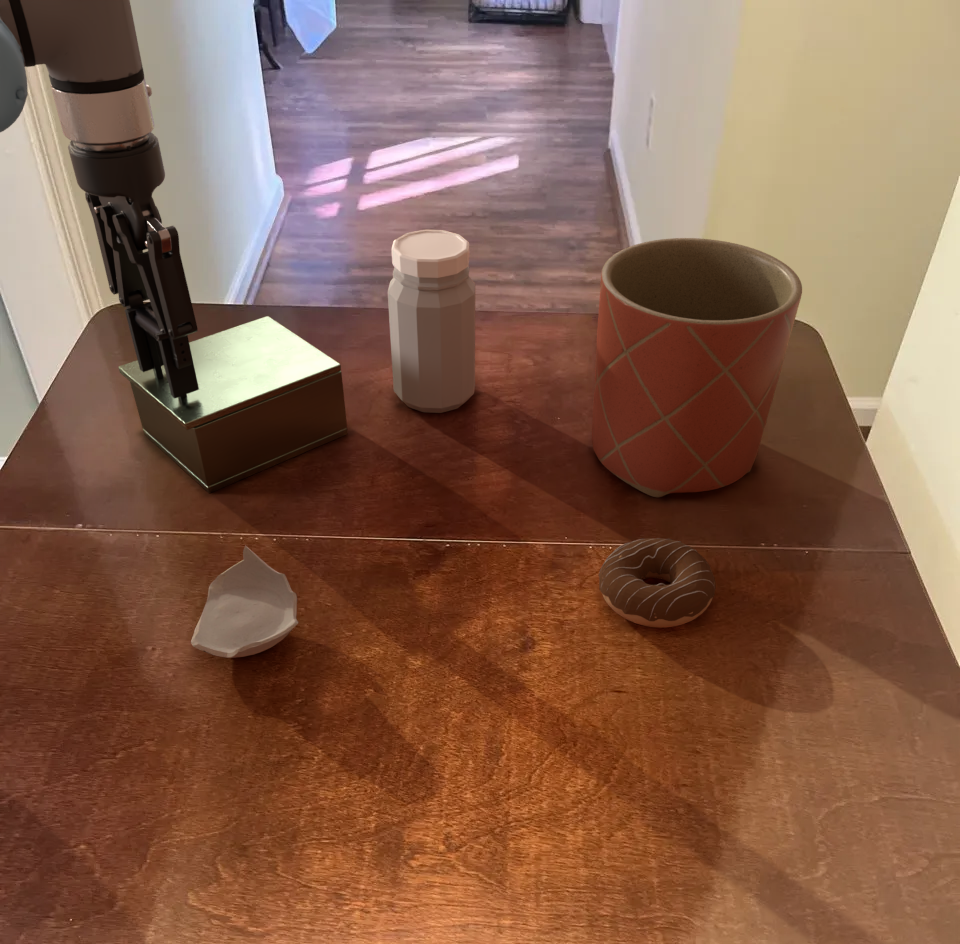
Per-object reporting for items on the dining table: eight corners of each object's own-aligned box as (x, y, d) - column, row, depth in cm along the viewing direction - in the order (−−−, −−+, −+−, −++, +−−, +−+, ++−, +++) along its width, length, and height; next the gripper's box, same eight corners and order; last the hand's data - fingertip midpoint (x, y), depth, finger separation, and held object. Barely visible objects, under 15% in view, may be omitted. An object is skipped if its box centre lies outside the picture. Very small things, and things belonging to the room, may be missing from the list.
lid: (186, 430, 96) (169, 352, 91) (119, 373, 104) (99, 298, 99) (341, 370, 105) (334, 296, 99) (268, 322, 113) (258, 250, 107)
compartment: (209, 493, 102) (194, 428, 97) (144, 434, 110) (127, 371, 105) (348, 434, 111) (341, 371, 105) (278, 383, 118) (268, 322, 113)
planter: (641, 524, 99) (668, 340, 85) (554, 429, 111) (566, 255, 98) (795, 479, 105) (845, 300, 91) (697, 394, 117) (727, 225, 103)
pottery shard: (238, 582, 92) (230, 540, 89) (342, 616, 89) (337, 574, 86) (171, 653, 85) (159, 611, 82) (280, 692, 82) (273, 650, 79)
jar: (377, 393, 117) (365, 242, 104) (439, 366, 122) (435, 218, 109) (430, 426, 112) (424, 271, 99) (492, 396, 117) (495, 245, 104)
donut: (720, 638, 87) (728, 605, 84) (601, 636, 87) (605, 603, 85) (703, 561, 95) (710, 528, 92) (593, 559, 95) (597, 526, 92)
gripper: (206, 156, 81) (249, 404, 97) (103, 101, 91) (158, 334, 107) (121, 177, 77) (181, 431, 93) (24, 117, 88) (93, 355, 104)
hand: (169, 379), depth 100 cm, fingers closed on lid, 6 cm apart
